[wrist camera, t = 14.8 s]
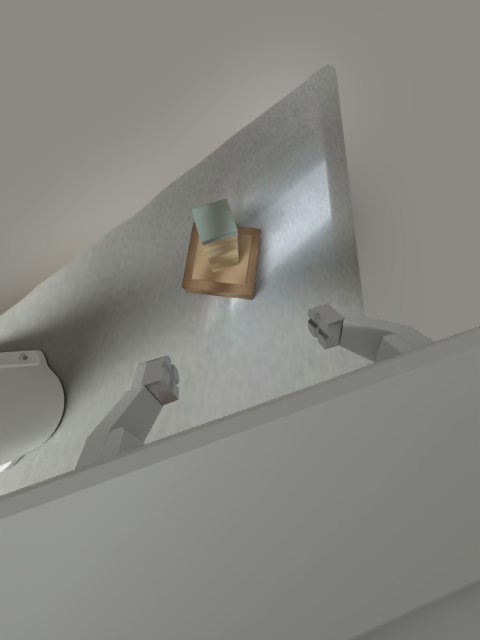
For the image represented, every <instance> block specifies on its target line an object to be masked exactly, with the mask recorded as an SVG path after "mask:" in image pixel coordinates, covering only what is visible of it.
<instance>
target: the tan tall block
mask: <svg viewBox="0 0 480 640" xmlns="http://www.w3.org/2000/svg"><path fill="white" fill-rule="evenodd" d="M191 211H192V214H193V218H194V221H195V224H196V227H197V230H198V233H199V237H200V240H201V243H202V245H203V247H204V250H205V252H206V255H207V258H208V260H209V263H210V266H211V268H212V271H213V272H216V271H219V270H222V269H226V268H229V267H232V266H235V265H238V264H239V260H238V237H237V235H238V230H237V227H236V224H235V221H234V219H233V216H232V213H231V210H230V207H229V204H228V202H227V199H223V200H220V201H217V202H213V203H210V204H207V205H203V206H200V207H196V208H193V209H191Z"/></svg>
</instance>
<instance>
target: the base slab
mask: <svg viewBox="0 0 480 640" xmlns="http://www.w3.org/2000/svg"><path fill="white" fill-rule="evenodd" d="M237 230H238V235H237V237H238V260H239V264H238V265H235V266H232V267H229V268H226V269H222V270H219V271H216V272H213V271H212V268H211V266H210V263H209V260H208V258H207V255H206V252H205V250H204V247H203V245H202V243H201V240H200V237H199V233H198V230H197V227H196V224H195V222H194V223H193V228H192V234H191V239H190V245H189V250H188V256H187V261H186V267H185V272H184V278H183V284H182V287H183V288H184V289H185V290H186V291H187V292H191V293H199V294H208V295H216V296H224V297H233V298H241V299H250V300H253V294H254V286H255V277H256V269H257V260H258V252H259V244H260V235H261V229H255V228H246V227H237Z"/></svg>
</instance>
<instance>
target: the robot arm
mask: <svg viewBox="0 0 480 640" xmlns="http://www.w3.org/2000/svg"><path fill="white" fill-rule="evenodd" d="M308 316H309V317H310V319H309V321H308V328H309V331H310V332H311V334H312V335H313V336H314V337H316V338H318V342H319V343H320V344H321V345H322V347H323V348H324V349H328V348H331V347H335V346H338V345H340V346H341V347H343V348H346V349H348V350H350V351H352V352H354V353H356V354H359V355H361V356H363V357H365V358H367V359H369V360H372V361H374V364H371V365H368V366H366V367H363V368H360V369H357V370H354V371H351V372H349V373H346V374H343V375H340V376H337V377H335V378H332V379H329V380H326V381H323V382H320V383H318V384H315V385H312V386H309V387H306V388H304V389H301V390H298V391H295V392H292V393H290V394H287V395H284V396H281V397H278V398H275V399H273V400H270V401H267V402H264V403H261V404H258V405H256V406H253V407H250V408H247V409H244V410H242V411H239V412H236V413H233V414H230V415H227V416H225V417H222V418H219V419H216V420H213V421H210V422H208V423H205V424H202V425H199V426H196V427H194V428H191V429H188V430H185V431H182V432H179V433H177V434H174V435H171V436H168V437H165V438H162V439H160V440H157V441H154V442H151V443H148V444H144V443H143V442H144V441H145V439H146V437H147V435H148V433H149V431H150V429H151V428H152V426H153V424H154V422H155V420H156V418H157V416H158V415H159V413H160V411H161V409H162V407H163V405H165V404H168V403H171V402H173V401H176V400H178V397H179V388H178V387H177V384H178V382H179V375H178V371H177V368H176V367H175V365H172V364H171V359H170V358H169V356H164V357H160V358H157V359H154V360H150V361H148V362H144V363H141V364H139V365H138V366H137V369H136V372H135V376H134V380H133V383H132V387H131V390H130V391H127V393H126V394H125V395H124V396H123V397H122V398H121V400H120V401H119V402H118V403H117V404H116V405H115V406H114V408H113V409H112V410H111V411H110V412H109V413H108V415H107V416H106V417H105V418H104V419H103V420H102V422H101V423H100V424H99V425H98V426H97V427H96V428H95V430H94V431H93V432H92V433H91V434H90V435H89V437H88V438H87V440H86V443H85V445H84V448H83V450H82V453H81V455H80V458H79V461H78V463H77V466H76V468H75V470H72V471H69V472H67V473H64V474H61V475H58V476H55V477H52V478H50V479H47V480H44V481H41V482H38V483H36V484H33V485H30V486H27V487H24V488H21V489H19V490H16V491H13V492H10V493H7V494H5V495H2V496H0V640H480V326H479V327H476V328H473V329H470V330H467V331H464V332H461V333H459V334H456V335H453V336H450V337H447V338H445V339H442V340H439V341H436V342H435V341H433V340H432V339H430V338H428V337H427V336H425V335H423V334H422V333H420V332H419V331H417V330H415V329H414V328H412V327H410V326H405V325H401V324H397V323H392V322H388V321H383V320H379V319H375V318H370V317H366V316H362V315H354V314H353V313H351V312H350V311H349V310H347V309H346V308H344V307H343V306H342V305H340V304H339V303H338V302H336V301H332V302H329V303H327V304H324V305H321V306H318V307H315V308H312V309H309V311H308ZM27 357H28V358H27ZM63 409H64V392H63V388H62V385H61V383H60V381H59V379H58V377H57V376H56V375H55V374H54V372H53V371H52V370H51V369H50V368H49V367H48V365H47V362H46V359H45V356H44V354H43V352H42V351H40V350H29V351H15V352H0V472H2V471H5V470H7V469H9V468H11V467H12V466H13V465H14V464H15V463H16V462H17V461H18V460H19V459H20V458H21V457H22V456H23V455H25V454H26V453H28V452H30V451H32V450H34V449H36V448H38V447H39V446H41V445H42V444H43V443H44V442H46V441H47V440H48V439H49V437H50V436H51V435H52V434H53V433H54V431H55V430H56V428H57V426H58V424H59V422H60V420H61V417H62V414H63Z"/></svg>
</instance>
